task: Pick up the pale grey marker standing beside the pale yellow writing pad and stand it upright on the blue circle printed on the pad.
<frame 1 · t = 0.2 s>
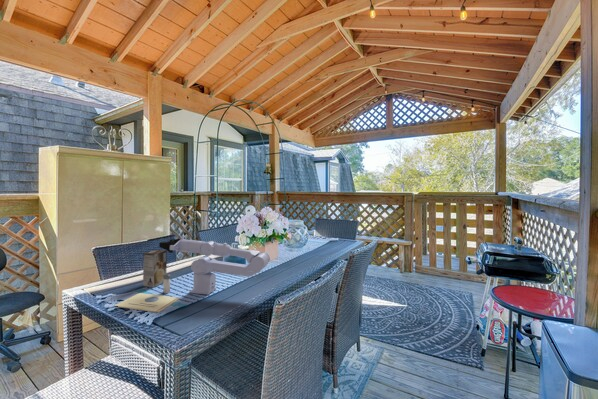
hand: (164, 243, 137), 21 cm above the table, tool horizontal, fingers open, 7 cm apart
marker: (166, 292, 132), on the table
writing pad: (148, 302, 120), on the table
coffee box: (154, 284, 142), on the table
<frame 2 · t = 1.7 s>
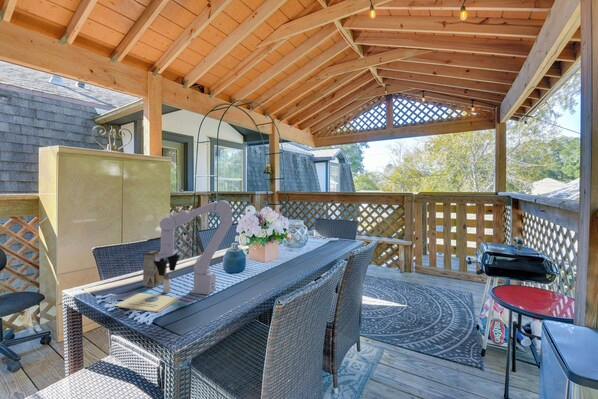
hand: (166, 272, 131), 9 cm above the table, tool pointing down, fingers open, 7 cm apart
nothing on the table moved.
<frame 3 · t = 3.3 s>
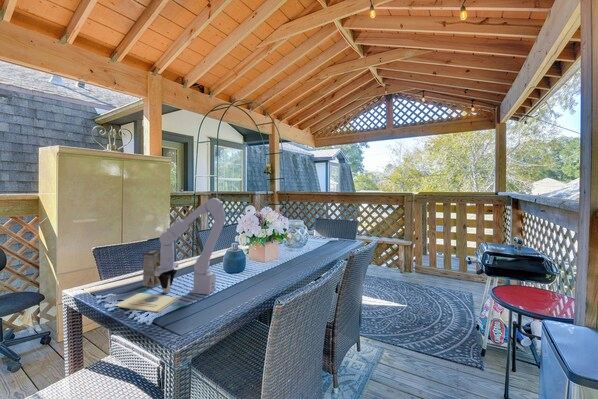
hand: (166, 287, 132), 2 cm above the table, tool pointing down, fingers closed on marker, 3 cm apart
marker: (166, 292, 132), on the table, touching gripper
everything else where it was.
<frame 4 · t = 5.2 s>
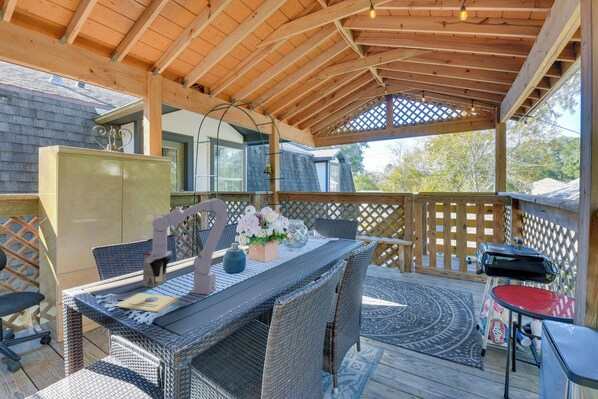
hand: (159, 275, 126), 9 cm above the table, tool pointing down, fingers closed on marker, 3 cm apart
marker: (158, 280, 126), point 7 cm above the table, touching gripper
everything else where it was.
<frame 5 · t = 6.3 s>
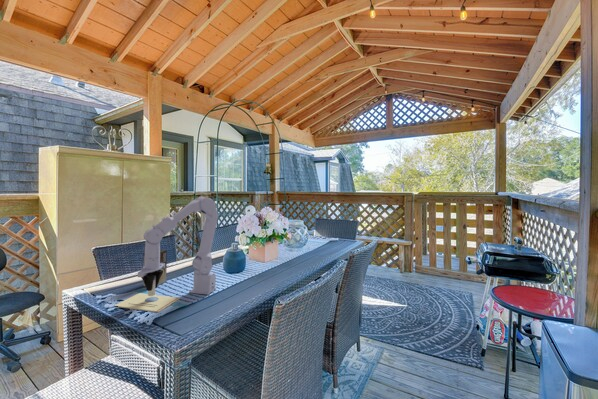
hand: (151, 289, 122), 5 cm above the table, tool pointing down, fingers closed on marker, 3 cm apart
marker: (151, 294, 122), point 3 cm above the table, touching gripper
everything else where it was.
when the fingers open (4 cm above the table, at t = 7.2 s): marker stays where it is, resting on writing pad.
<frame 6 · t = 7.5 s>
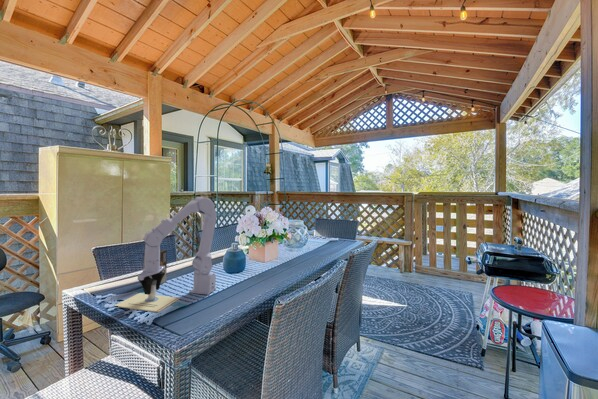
hand: (151, 291, 122), 4 cm above the table, tool pointing down, fingers open, 5 cm apart
marker: (151, 299, 122), point 1 cm above the table, touching writing pad
everything else where it was.
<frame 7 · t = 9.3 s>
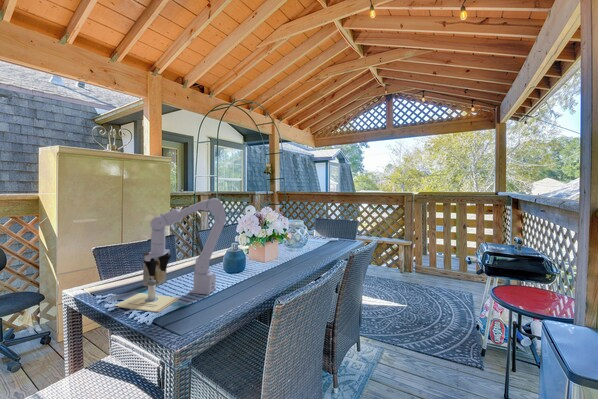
hand: (157, 273, 129), 9 cm above the table, tool pointing down, fingers open, 7 cm apart
nothing on the table moved.
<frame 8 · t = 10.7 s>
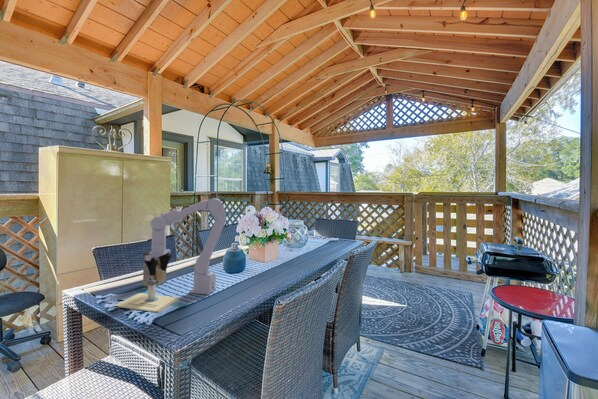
hand: (158, 272, 130), 9 cm above the table, tool pointing down, fingers open, 7 cm apart
nothing on the table moved.
at the end: marker 0.1 cm from the target spot on the writing pad, point 0.5 cm above the writing pad's base; marker tilted 0°; the gripper is holding nothing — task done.
